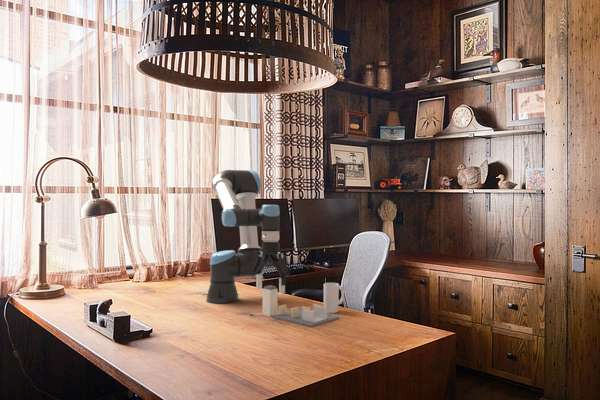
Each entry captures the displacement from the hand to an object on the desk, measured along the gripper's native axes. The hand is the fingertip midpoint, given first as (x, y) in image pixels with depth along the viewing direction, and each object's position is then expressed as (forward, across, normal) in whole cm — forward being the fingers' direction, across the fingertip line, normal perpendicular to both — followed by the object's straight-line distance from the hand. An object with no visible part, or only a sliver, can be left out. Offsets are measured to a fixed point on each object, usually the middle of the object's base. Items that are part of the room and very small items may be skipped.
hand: (270, 291), depth 209 cm
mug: (+10, +16, +24) cm, 31 cm away
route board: (+10, +14, +6) cm, 19 cm away
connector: (+10, 0, 0) cm, 10 cm away
